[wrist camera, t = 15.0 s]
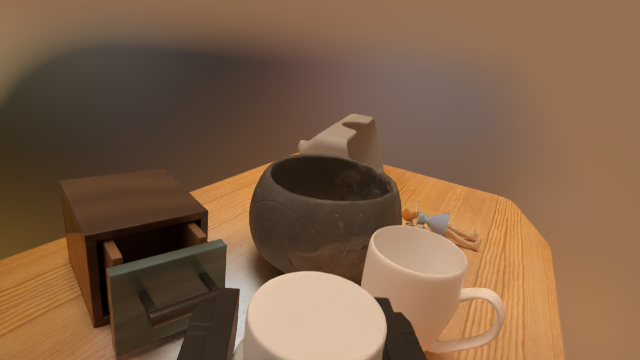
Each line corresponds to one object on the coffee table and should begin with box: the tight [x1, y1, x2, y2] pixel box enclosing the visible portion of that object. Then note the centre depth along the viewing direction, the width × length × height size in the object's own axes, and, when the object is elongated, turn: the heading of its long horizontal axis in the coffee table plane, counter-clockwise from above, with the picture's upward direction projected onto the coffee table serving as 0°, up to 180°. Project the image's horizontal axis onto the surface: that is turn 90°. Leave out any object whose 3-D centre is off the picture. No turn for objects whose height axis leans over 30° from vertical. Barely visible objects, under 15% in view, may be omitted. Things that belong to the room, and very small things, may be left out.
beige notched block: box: [298, 113, 384, 173], centre depth 72 cm, size 25×16×12 cm, turn 162°
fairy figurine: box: [402, 202, 481, 250], centre depth 59 cm, size 12×5×12 cm
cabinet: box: [59, 169, 208, 328], centre depth 40 cm, size 13×11×10 cm
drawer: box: [96, 221, 227, 356], centre depth 35 cm, size 15×9×8 cm, turn 40°
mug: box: [361, 225, 504, 353], centre depth 33 cm, size 12×8×11 cm
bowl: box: [249, 154, 402, 282], centre depth 45 cm, size 18×18×13 cm
